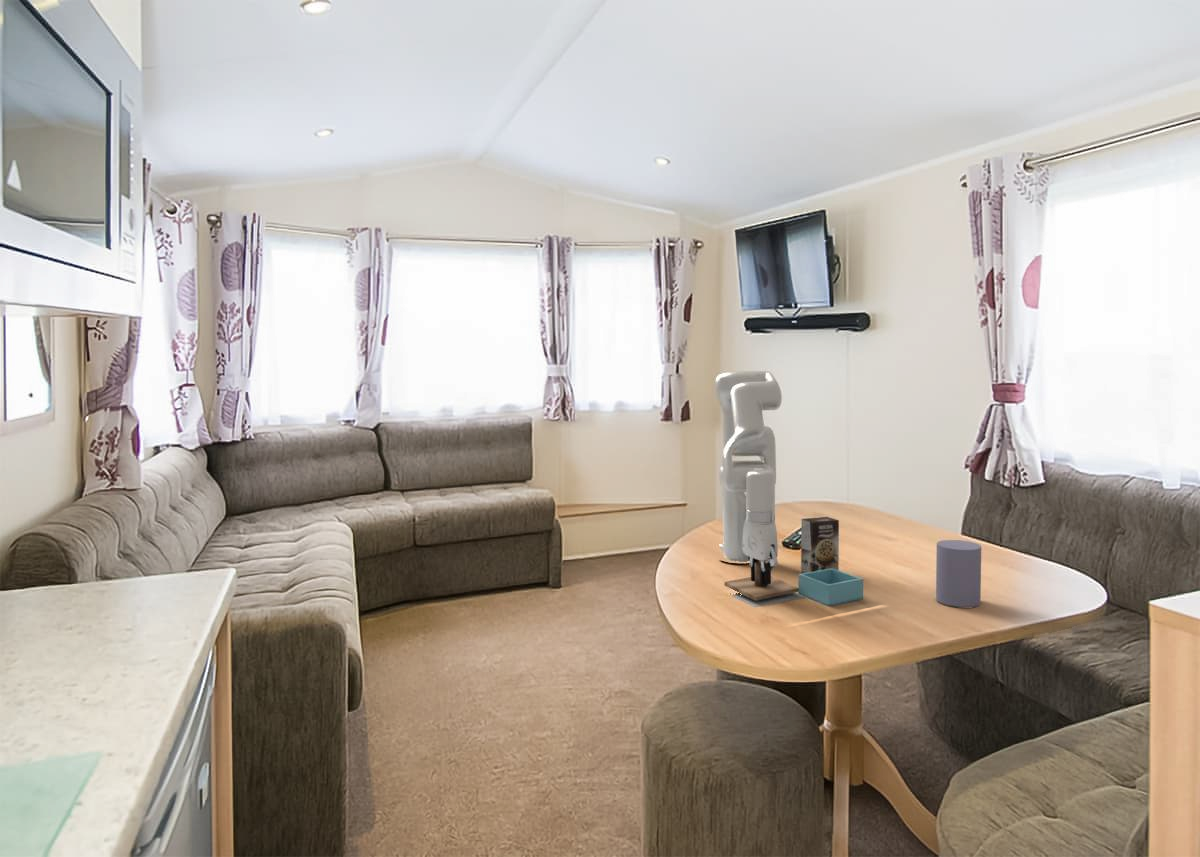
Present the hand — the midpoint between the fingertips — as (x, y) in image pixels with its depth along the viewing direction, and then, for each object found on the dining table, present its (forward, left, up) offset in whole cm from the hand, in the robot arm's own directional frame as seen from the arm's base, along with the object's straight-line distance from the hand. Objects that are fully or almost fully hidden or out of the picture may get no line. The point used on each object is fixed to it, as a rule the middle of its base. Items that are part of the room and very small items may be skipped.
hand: (760, 581), depth 204 cm
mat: (+1, 0, -4) cm, 4 cm away
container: (+30, +40, -4) cm, 50 cm away
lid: (0, 0, -2) cm, 2 cm away
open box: (+12, +14, -4) cm, 18 cm away
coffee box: (-8, +28, -4) cm, 29 cm away
